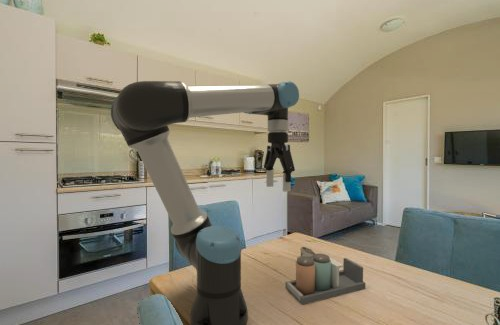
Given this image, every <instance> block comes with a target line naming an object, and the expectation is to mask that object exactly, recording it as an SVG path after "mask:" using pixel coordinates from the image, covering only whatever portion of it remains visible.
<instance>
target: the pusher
mask: <svg viewBox="0 0 500 325" xmlns="http://www.w3.org/2000/svg"><path fill="white" fill-rule="evenodd" d="M330 260H331V286H332V287H333V288H338V287H339V271H340V268H343V263H340V262H338V261H337V260H335V259H333V258H331V257H330Z"/></svg>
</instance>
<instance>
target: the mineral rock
mask: <svg viewBox="0 0 500 325" xmlns="http://www.w3.org/2000/svg"><path fill="white" fill-rule="evenodd" d="M314 254H316V253H315V252H314V251H313V250H312V249H311V248H309V247H307V246H306V247H305V246H302V247H301V248H300V257H301V256H307V257H311V258H312V257H313V255H314Z"/></svg>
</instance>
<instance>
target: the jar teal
mask: <svg viewBox="0 0 500 325" xmlns="http://www.w3.org/2000/svg"><path fill="white" fill-rule="evenodd" d="M330 258H331V257H330V256H329V255H327V254H325V253H315V254H314V255H313V257H312V259H314V262H315V290H316V291H319V292H322V291H326V290H330V289H331V260H330Z"/></svg>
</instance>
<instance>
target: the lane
mask: <svg viewBox="0 0 500 325" xmlns="http://www.w3.org/2000/svg"><path fill="white" fill-rule="evenodd" d="M342 265H343V267H342V268H343V269H342V270H341V269H339V287H338V288H333V287H332V286H331V289H330V290H326V291H322V292H319V291H316V290H315V293H314V294H310V295H306V296H303V294H302V293H301V292H299V291H298V290H297V289H296V279H295V280H290V281H285V283H284V284H285V289H286V290H287V291H288V292H289V293H290V294H291V295H292V296H293V297H294V298H295V299H296V300H297V301H298V302H299V303H300V304H301V305H305V304H306V305H307V304H309V303H310V304H311V303H314V302H317V301H322V300H326V299H329V298H333V297H337V296H341V295H344V294H349V293H352V292H356V291H360V290H364V289H366V282H365V281H364V266H362V265H361V264H359V263H356V262H355V261H352V260H351V259H349V258H347V257H344V258H343V263H342Z"/></svg>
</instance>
